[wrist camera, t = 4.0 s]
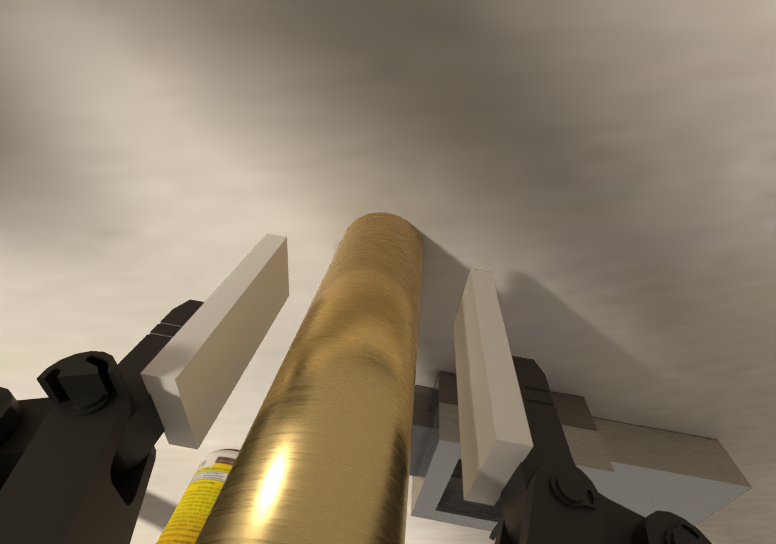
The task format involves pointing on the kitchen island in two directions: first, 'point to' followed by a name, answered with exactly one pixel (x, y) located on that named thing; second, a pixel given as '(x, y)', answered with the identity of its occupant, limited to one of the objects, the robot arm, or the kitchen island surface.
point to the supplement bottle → (198, 499)
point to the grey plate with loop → (590, 454)
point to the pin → (336, 407)
